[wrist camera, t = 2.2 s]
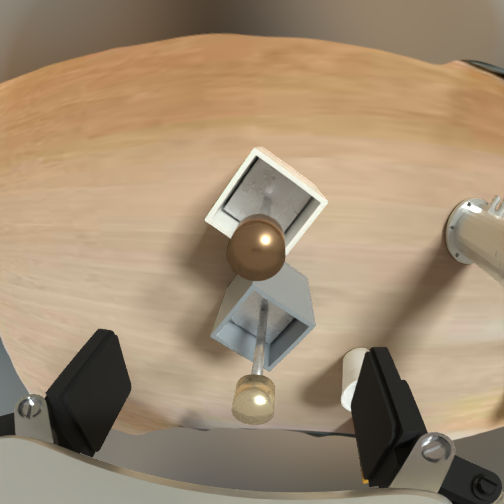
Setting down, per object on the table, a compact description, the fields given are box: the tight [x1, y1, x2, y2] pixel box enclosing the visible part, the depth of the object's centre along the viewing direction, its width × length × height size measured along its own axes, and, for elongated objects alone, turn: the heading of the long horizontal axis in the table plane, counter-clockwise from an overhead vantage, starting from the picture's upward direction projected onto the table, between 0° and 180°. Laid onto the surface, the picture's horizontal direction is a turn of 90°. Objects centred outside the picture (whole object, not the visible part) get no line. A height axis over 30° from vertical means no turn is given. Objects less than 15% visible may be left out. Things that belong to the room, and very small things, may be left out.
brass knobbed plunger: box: [230, 290, 295, 425], centre depth 36 cm, size 8×8×19 cm
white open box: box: [205, 147, 328, 255], centre depth 41 cm, size 10×10×15 cm
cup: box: [341, 348, 369, 411], centre depth 53 cm, size 10×10×11 cm
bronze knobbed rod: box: [223, 158, 311, 281], centre depth 30 cm, size 8×8×19 cm
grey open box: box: [210, 262, 316, 372], centre depth 47 cm, size 10×10×15 cm
